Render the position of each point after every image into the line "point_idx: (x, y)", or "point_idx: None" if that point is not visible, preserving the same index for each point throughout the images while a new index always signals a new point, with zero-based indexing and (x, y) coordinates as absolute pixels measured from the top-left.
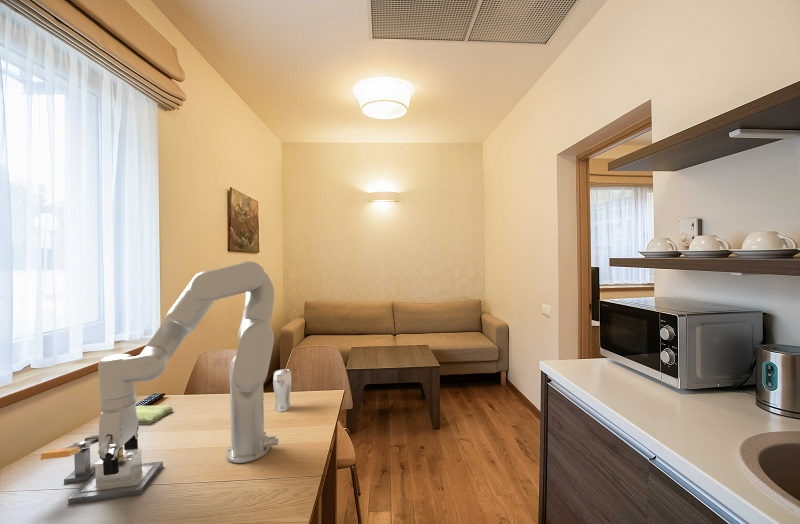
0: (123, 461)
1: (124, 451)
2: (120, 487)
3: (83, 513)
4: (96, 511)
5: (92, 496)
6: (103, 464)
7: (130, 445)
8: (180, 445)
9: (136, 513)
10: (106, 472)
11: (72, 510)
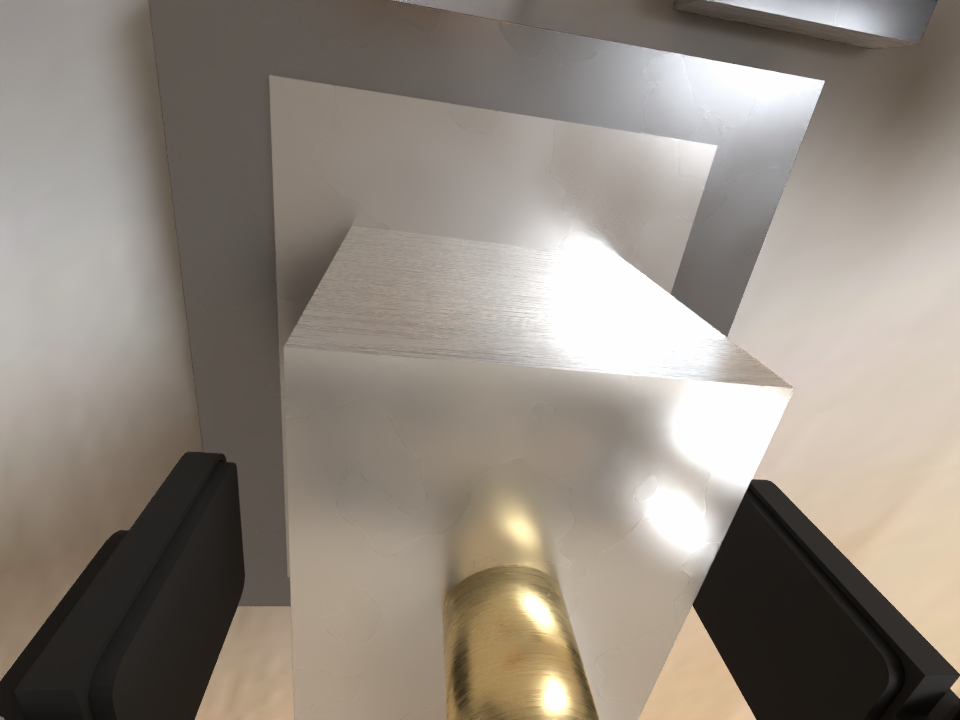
0: (294, 706)
1: (635, 618)
2: (283, 465)
3: (11, 242)
4: (42, 347)
5: (183, 259)
6: (83, 600)
7: (778, 654)
8: (876, 580)
9: (14, 612)
10: (120, 538)
11: (66, 93)
